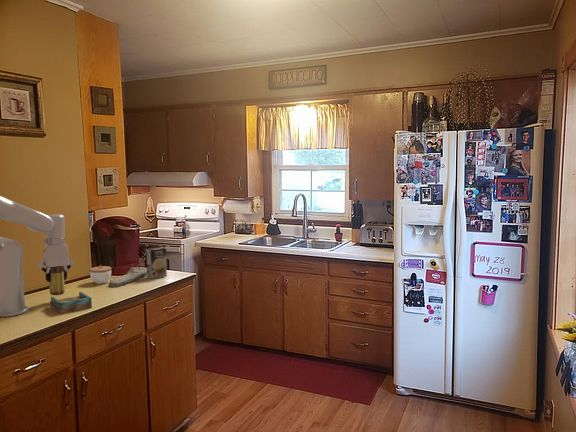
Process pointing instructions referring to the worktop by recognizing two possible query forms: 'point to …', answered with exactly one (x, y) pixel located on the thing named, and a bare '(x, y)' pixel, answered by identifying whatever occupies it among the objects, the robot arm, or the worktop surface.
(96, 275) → the lidded jar
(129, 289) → the worktop surface
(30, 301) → the worktop surface
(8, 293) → the robot arm
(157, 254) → the coffee box
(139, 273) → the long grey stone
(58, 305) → the dock
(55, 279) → the sauce bottle
